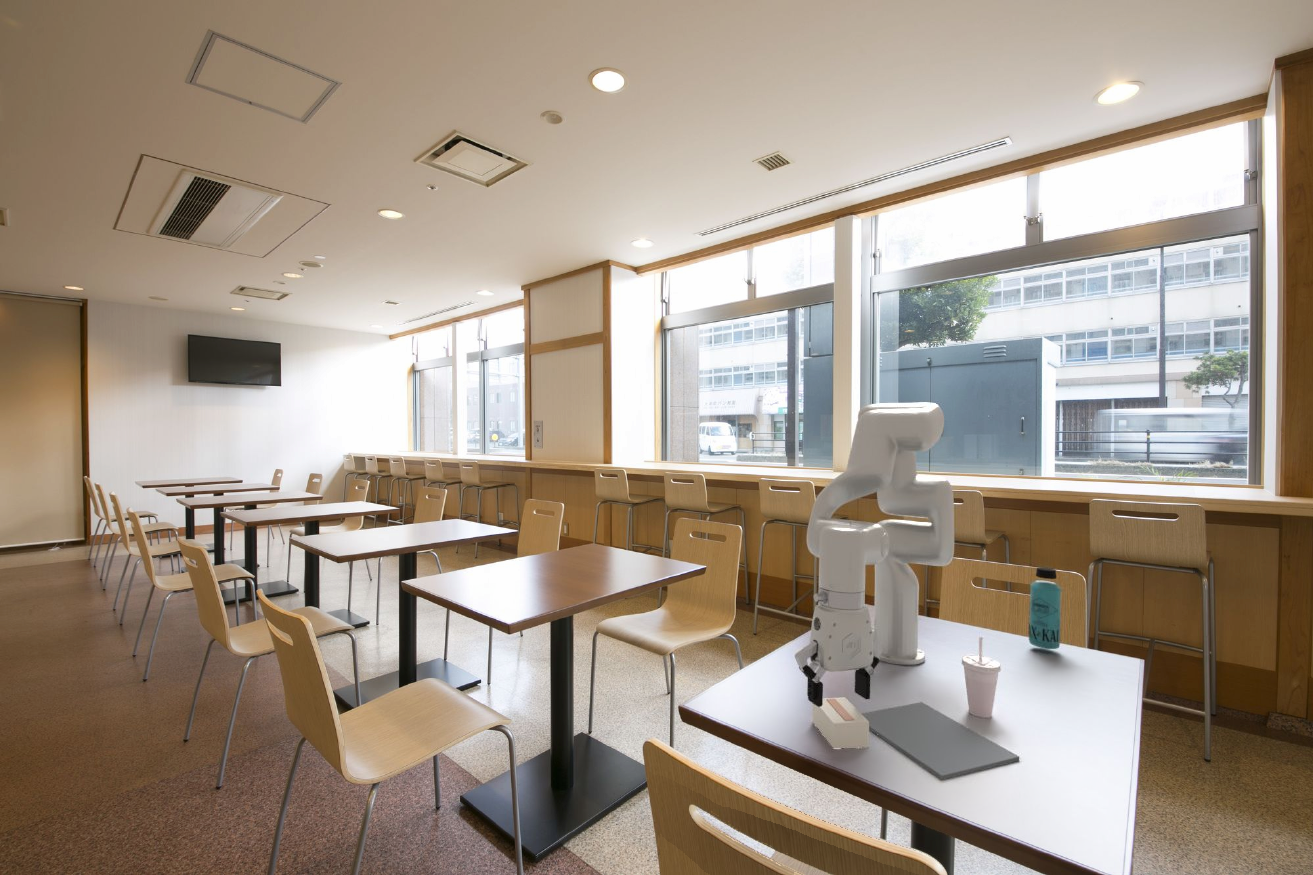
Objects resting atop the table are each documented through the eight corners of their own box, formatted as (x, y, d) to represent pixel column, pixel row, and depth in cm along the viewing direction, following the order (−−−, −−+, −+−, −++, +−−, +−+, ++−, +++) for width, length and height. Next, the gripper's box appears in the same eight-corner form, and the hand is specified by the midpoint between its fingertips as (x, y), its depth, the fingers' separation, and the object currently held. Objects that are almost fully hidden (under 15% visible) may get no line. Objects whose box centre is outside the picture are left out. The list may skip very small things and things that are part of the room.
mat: (852, 718, 106) (852, 714, 106) (921, 705, 112) (921, 702, 112) (941, 779, 87) (941, 775, 87) (1019, 760, 93) (1019, 756, 93)
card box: (812, 723, 104) (812, 697, 104) (844, 722, 105) (845, 696, 105) (833, 750, 95) (833, 722, 95) (868, 749, 96) (869, 720, 96)
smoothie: (995, 708, 111) (997, 634, 111) (1003, 724, 105) (1005, 645, 105) (958, 702, 113) (959, 630, 113) (963, 717, 107) (965, 641, 107)
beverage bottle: (1028, 643, 146) (1030, 563, 146) (1061, 649, 142) (1062, 567, 142) (1027, 651, 141) (1028, 568, 141) (1060, 658, 137) (1062, 572, 137)
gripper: (811, 608, 93) (809, 716, 93) (897, 600, 99) (895, 702, 99) (785, 596, 100) (783, 696, 100) (867, 590, 106) (865, 685, 106)
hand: (839, 699), depth 100 cm, fingers open, 9 cm apart
